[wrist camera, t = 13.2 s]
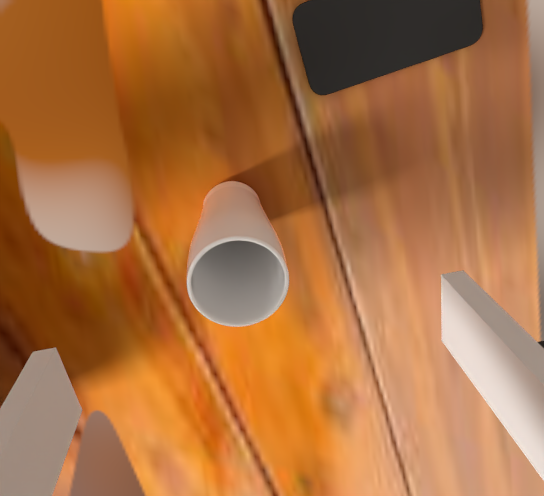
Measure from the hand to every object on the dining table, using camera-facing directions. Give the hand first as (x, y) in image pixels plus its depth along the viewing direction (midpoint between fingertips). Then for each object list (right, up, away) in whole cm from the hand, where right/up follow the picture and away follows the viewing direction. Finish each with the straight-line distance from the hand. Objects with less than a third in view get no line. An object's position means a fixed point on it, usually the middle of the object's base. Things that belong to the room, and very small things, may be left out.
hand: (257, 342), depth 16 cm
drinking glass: (-3, +7, +28) cm, 29 cm away
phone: (+10, +22, +24) cm, 34 cm away
